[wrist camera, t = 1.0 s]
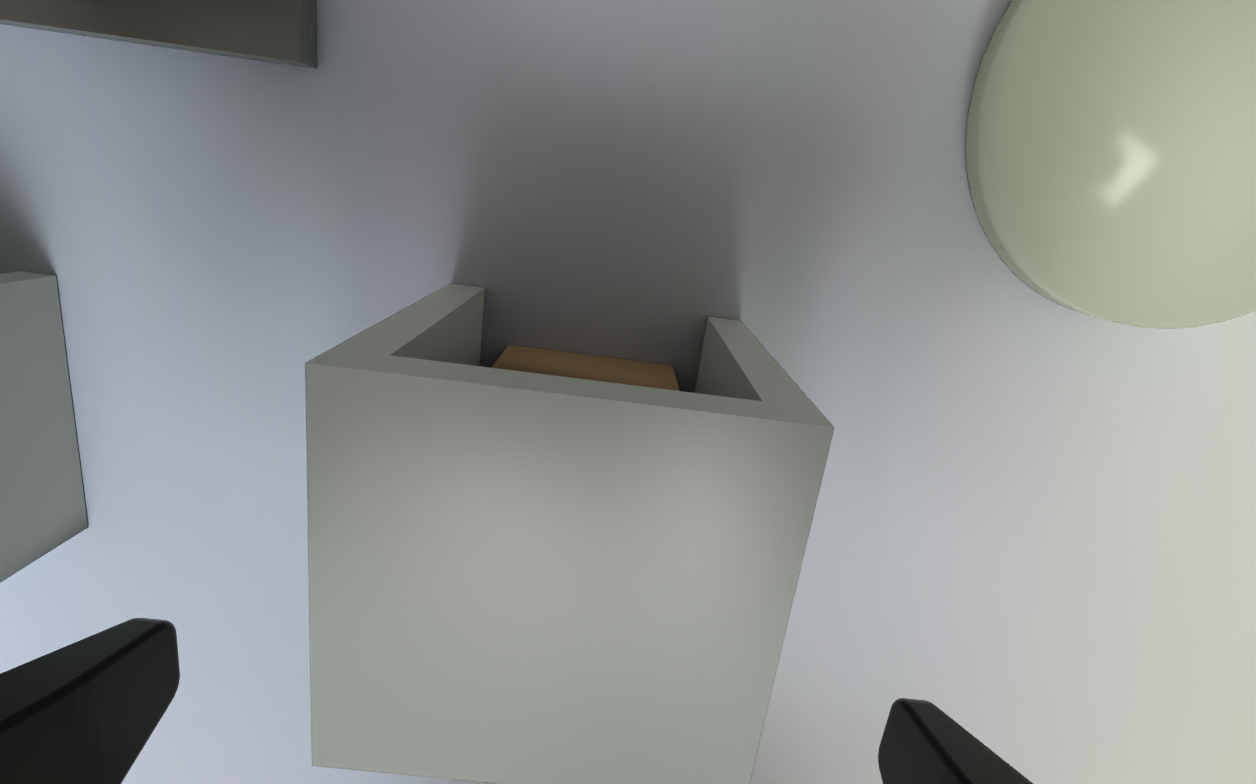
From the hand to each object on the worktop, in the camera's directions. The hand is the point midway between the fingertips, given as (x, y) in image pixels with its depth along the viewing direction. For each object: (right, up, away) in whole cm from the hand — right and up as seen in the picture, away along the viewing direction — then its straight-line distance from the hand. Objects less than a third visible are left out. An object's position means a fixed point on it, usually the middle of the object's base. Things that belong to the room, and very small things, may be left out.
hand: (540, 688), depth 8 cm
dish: (+13, +10, +6) cm, 17 cm away
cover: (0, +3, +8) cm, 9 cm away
